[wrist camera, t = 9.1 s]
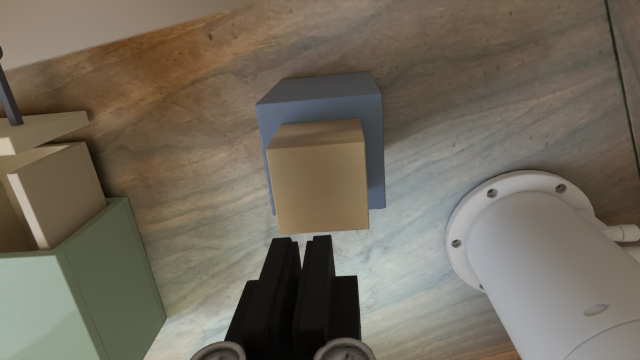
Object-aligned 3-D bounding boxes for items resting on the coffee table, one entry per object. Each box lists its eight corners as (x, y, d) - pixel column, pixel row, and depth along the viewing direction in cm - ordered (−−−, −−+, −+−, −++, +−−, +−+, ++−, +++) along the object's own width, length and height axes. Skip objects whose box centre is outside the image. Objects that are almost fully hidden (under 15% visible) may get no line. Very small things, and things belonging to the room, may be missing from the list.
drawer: (-64, 47, 30) (-194, 55, 22) (59, 33, 29) (-34, 37, 22) (31, 255, 37) (-43, 311, 30) (132, 249, 36) (80, 306, 29)
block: (360, 117, 21) (365, 141, 17) (364, 191, 23) (369, 229, 18) (280, 124, 21) (265, 149, 17) (290, 196, 23) (279, 234, 19)
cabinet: (11, 204, 36) (-96, 263, 27) (127, 196, 35) (55, 255, 26) (65, 323, 41) (-9, 404, 33) (167, 318, 40) (118, 401, 32)
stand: (368, 71, 30) (381, 92, 20) (372, 155, 32) (385, 208, 23) (281, 79, 30) (254, 104, 21) (291, 161, 33) (272, 215, 24)
